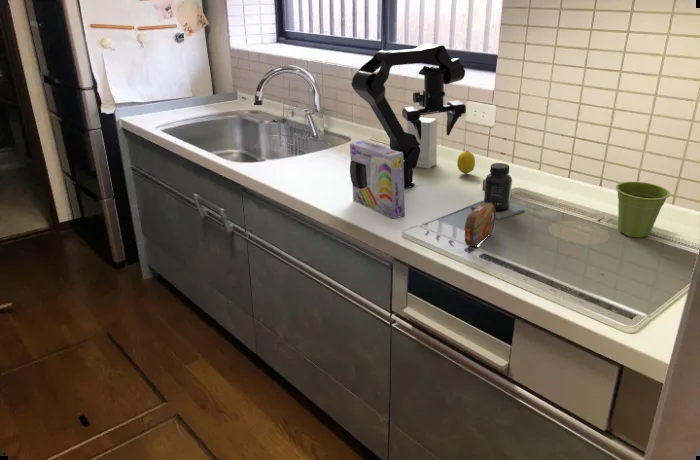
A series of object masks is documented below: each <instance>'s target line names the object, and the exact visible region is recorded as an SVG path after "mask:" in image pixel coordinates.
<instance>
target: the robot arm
mask: <svg viewBox="0 0 700 460" xmlns="http://www.w3.org/2000/svg"><path fill="white" fill-rule="evenodd" d="M414 64H423V65H424V64H425V65H424V66H423V67H422V68H421V69H420V70H419V71H418V75H421V76H424V78H423V79H424V80H423V81H424V82H423V83H424V89H422V94H421V92H420V91H417V92H413V93H412V103H413V104H418V106H421V107H423V108H418V107H416V106H415V105H413V106H405V107H403V108H402V111H401V116H402V117H403V118H404V119H405V120H406V122H407V121H410V122H411V123H413V125H414V127H415V130H416V133H417V136H418V138H419V140H421V120H420V119H419V118H420V117H421V116H425V115H432V114H440V113H446V131H445V132H446V136H450V134H451V132H452V130H453V128H454V126H455V125H456V123H457V121H458V119H459V118H462V116H463V115H464V114H466V113H467V106H466V104H465V103H463V102H462V101H460V100H459V99H457V100H449V101H447V103H446V105H445V104H444V98H445V96H446V92H445V91H444V90H445V89H444V87H445V86H444V85H450V84H452V83H456V82H460V81H462V80H463V79H464V78H465V76H466V70H465V68H464V65H463V64H462V63H461V59H460V58H456V57H454V58H452V57H450V55H449V53H448V52H447V48H446V46H445V45H442V44H434V43H424V44H421V45H418V46H417V47H416V48H411V49H410V48H409V49H398V50H378V51H377V52H375V54H374V55H373V56H372V58H371V59H369V60H368V61H367V62H365V63H364V64H363V65H362V66H361V67H360V68H359V70H358V71H357V72H355V74H354V75H353V77H352V80H351V86H352V89H353V90H354V91H355V93H356V94H357V96H359V97H360V98H361V99H363V100H364V101H365V102H366V103H368V105H369V106H370V108H371V110H372V111H373V113H374V114H375V116H376V118H377V120H378V121H379V123H380V124H381V127H382V128H383V129H384V131H385V133H386V135H387V136H388V138H389V149H392V150H395V151H398V152H402V153H403V158H404V189H407V188H411V187H415V186H416V184H415V183H413V180H414V179H413V178H414V175H413V174H414V172H413V171H414V170H413V169H416V168H417V167H416V165H417V162H418V158H419V155H420V147H419V145H420V143H418V141H417V139H416V137H415V135H413V134H410V133H407V131H405V130H404V128H403V127H402V125H401V123H400V121H399V119H398V118H397V116H396V114H395V112H394V111H393V109H392V107H391V105H390V103H389V102H388V99H387V98H386V86H385V84H386V82H387V80H388V79H389V75H390V71H391V69H392V67H393V66H403V65H414ZM426 65H430V66H426ZM376 71H377V73H375V72H376Z"/></svg>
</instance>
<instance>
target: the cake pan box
mask: <svg viewBox="0 0 700 460" xmlns="http://www.w3.org/2000/svg"><path fill="white" fill-rule="evenodd" d="M349 148H350V164H349V175H350V176H349V177H350V181H351V184H352V200H353V202H355V203H357V204H359V205H362V206H364V207H366V208H368V209H371V210H372V211H375V212H376V213H377V212H378V213H379V214H382V215H384V216H387V217H389V218H391V219H396V218H399V217H403V216H405V214H406V208H405V205H406V203H405V199H406V198H405V188H404V158H403V153H402V152H398V151H395V150H392V149H390V147H389V148H388V147H387V146H385V145H381V144H378V143H373V142H370V141H367V140H364V139H360V140H359V139H358V140H357V141H353V142H350V143H349Z"/></svg>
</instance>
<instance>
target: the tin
mask: <svg viewBox="0 0 700 460" xmlns="http://www.w3.org/2000/svg"><path fill="white" fill-rule="evenodd" d="M480 203H481V204H480ZM480 203H479V204H480V205H478V206H477V207H476V208H475V209H472V210H471V212H470V213H469V214H468V215H467V218H466V220H465V223H464V224H465V225H464V242H465V244H466V245H467V246H469V245H470V247H474V246H475V248H478V247H477V245H478V244H479V243H480V242H481V241H482V240H484V239H485V238H486V237H488V235H490V234H491V235H492V233H493V231H494V227H495V224H496V219H495V217H496V211H495V205H494V204H493V203H485V202H484V201H483V202H480ZM491 235H490V236H491ZM488 238H489V237H488Z"/></svg>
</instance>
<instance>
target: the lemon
mask: <svg viewBox="0 0 700 460" xmlns="http://www.w3.org/2000/svg"><path fill="white" fill-rule="evenodd" d="M456 163H457V169H458V171H460V172H461V173H463V175H466V176H467V175H468V174H469V173H472V171H473V170H474V169H475V166H476V165H475V164H476V159H475V156H474V154H473V153H472V152H471V151H469V150H467V149H466V150H465V151H462V152H461V153H460V154H459V155H458V158H457V162H456Z"/></svg>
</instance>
